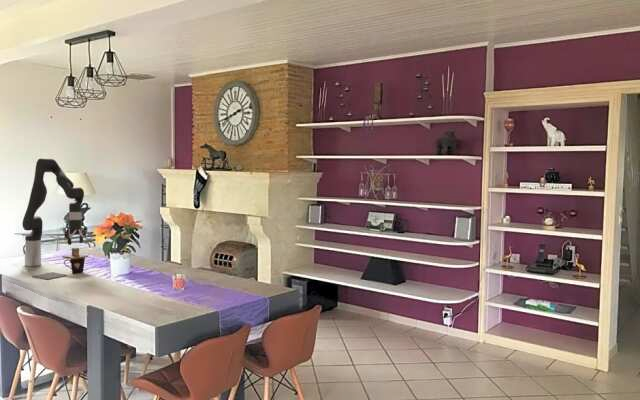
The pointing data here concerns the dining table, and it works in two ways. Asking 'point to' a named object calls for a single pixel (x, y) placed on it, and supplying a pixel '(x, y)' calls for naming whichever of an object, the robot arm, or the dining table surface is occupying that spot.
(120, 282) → the dining table surface
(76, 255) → the lid
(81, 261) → the coffee mug
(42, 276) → the mat
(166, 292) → the dining table surface
